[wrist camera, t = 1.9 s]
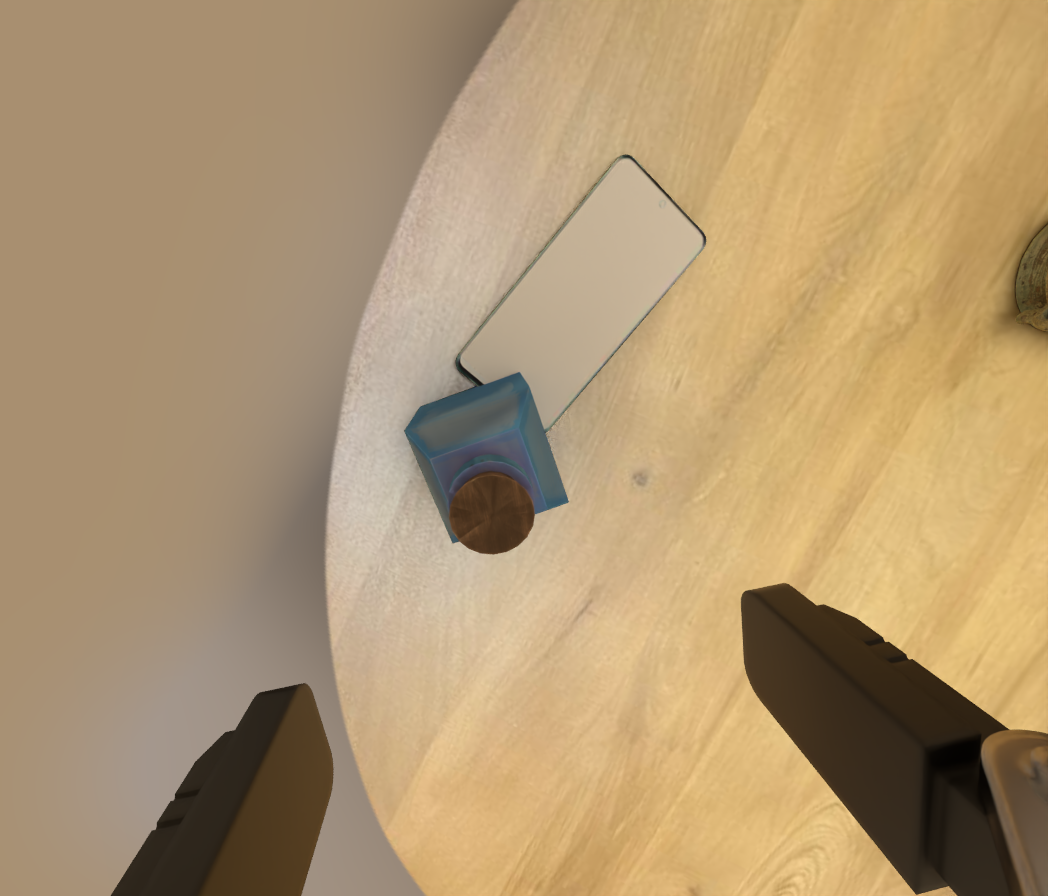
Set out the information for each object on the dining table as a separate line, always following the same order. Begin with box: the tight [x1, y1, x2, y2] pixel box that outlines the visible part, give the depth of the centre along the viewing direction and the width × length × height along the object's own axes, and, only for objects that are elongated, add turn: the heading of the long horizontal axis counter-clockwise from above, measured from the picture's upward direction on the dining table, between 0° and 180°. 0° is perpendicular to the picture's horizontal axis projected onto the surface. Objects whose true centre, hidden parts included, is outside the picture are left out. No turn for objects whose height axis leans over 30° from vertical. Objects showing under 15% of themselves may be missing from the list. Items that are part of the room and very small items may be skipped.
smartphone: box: [456, 155, 706, 433], centre depth 28 cm, size 7×1×15 cm
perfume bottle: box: [404, 372, 569, 554], centre depth 24 cm, size 6×6×12 cm
